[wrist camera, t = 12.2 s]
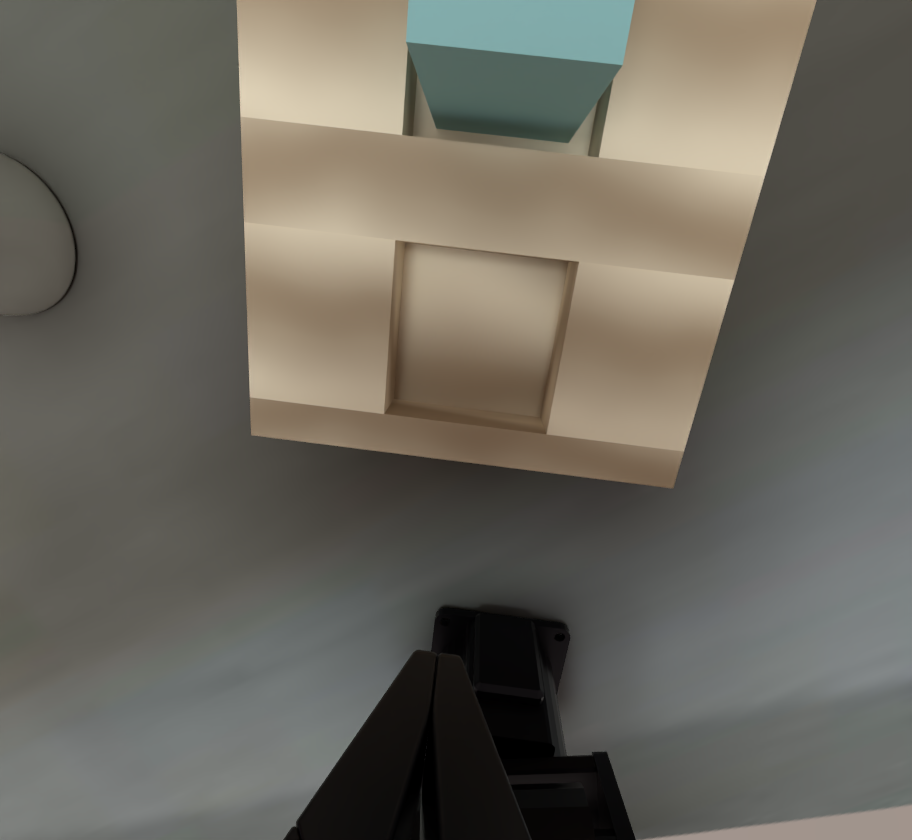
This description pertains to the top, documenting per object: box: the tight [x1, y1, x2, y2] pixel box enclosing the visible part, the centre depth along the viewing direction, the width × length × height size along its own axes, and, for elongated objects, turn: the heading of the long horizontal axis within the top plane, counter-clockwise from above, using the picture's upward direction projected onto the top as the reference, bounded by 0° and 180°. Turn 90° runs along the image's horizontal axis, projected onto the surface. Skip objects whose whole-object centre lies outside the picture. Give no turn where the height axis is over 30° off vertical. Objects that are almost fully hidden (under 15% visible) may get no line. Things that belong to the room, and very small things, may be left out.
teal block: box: [406, 0, 635, 143], centre depth 12 cm, size 4×4×6 cm
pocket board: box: [237, 0, 816, 488], centre depth 16 cm, size 18×16×2 cm
